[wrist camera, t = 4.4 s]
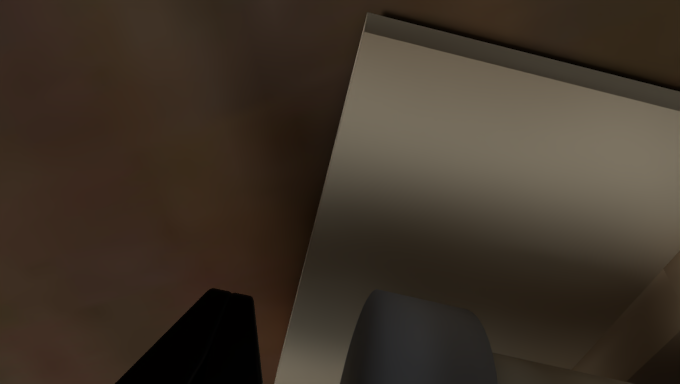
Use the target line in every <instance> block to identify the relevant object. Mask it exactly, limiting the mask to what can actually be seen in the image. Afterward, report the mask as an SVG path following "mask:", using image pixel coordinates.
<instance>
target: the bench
mask: <svg viewBox="0 0 680 384" xmlns="http://www.w3.org/2000/svg"><path fill="white" fill-rule="evenodd" d="M376 289H378V290H383V291H387V292H392V293H396V294H401V295H405V296H410V297H414V298H419V299H423V300H428V301H432V302H436V303H441V304H445V305H450V306H454V307H459V308H463V309H468V310H469V311H471V312H473V313H474V314H475V315H476V316H477V318H478V319H479V320H480V322H481V324H482V325H483V327H484V329H485V332H486V334H487V337H488V339H489V342H490V346H491V350H492V353H497V354H501V355H506V356H510V357H515V358H520V359H524V360H529V361H533V362H538V363H542V364H547V365H551V366H556V367H560V368H565V369H569V370H574V371H579V372H583V373H588V374H592V375H597V376H601V377H606V378H610V379H615V380H619V381H624V382H628V383H633V384H680V92H679V91H675V90H671V89H667V88H663V87H659V86H655V85H651V84H647V83H644V82H640V81H636V80H632V79H628V78H624V77H620V76H616V75H612V74H608V73H604V72H600V71H596V70H592V69H589V68H585V67H581V66H577V65H573V64H569V63H565V62H561V61H557V60H553V59H549V58H545V57H541V56H537V55H533V54H530V53H526V52H522V51H518V50H514V49H510V48H506V47H502V46H498V45H494V44H490V43H486V42H482V41H478V40H474V39H471V38H467V37H463V36H459V35H455V34H451V33H447V32H443V31H439V30H435V29H431V28H427V27H423V26H419V25H416V24H412V23H408V22H404V21H400V20H396V19H392V18H388V17H384V16H380V15H376V14H372V13H368V12H367V16H366V20H365V24H364V28H363V32H362V36H361V40H360V44H359V48H358V52H357V56H356V60H355V64H354V68H353V72H352V76H351V80H350V83H349V87H348V91H347V95H346V99H345V103H344V107H343V111H342V115H341V119H340V123H339V127H338V131H337V135H336V139H335V143H334V147H333V151H332V155H331V159H330V163H329V167H328V171H327V175H326V179H325V182H324V186H323V190H322V194H321V198H320V202H319V206H318V210H317V214H316V218H315V222H314V226H313V230H312V234H311V238H310V242H309V246H308V250H307V254H306V258H305V262H304V266H303V270H302V274H301V278H300V281H299V285H298V289H297V293H296V297H295V301H294V305H293V309H292V313H291V317H290V321H289V325H288V329H287V333H286V337H285V341H284V345H283V349H282V353H281V357H280V361H279V365H278V369H277V374H276V378H275V383H274V384H340V381H341V377H342V373H343V369H344V364H345V360H346V357H347V353H348V349H349V346H350V342H351V339H352V336H353V333H354V330H355V327H356V324H357V321H358V318H359V315H360V313H361V311H362V308H363V306H364V304H365V302H366V300H367V298H368V297H369V295H370V294H371V293H372V292H373V291H374V290H376Z"/></svg>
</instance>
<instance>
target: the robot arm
mask: <svg viewBox="0 0 680 384" xmlns="http://www.w3.org/2000/svg"><path fill="white" fill-rule="evenodd" d="M115 384H263V381H262V372H261V363H260V354H259V344H258V335H257V326H256V317H255V308H254V300H253V298H252V297H251V296H248V295H243V294H239V293H231V292H229V291H225V290H220V289H215V288H212V289H210V290H208V291H207V292H206V293H205V294H204V295H203V296H202V297H201V298H200V299H199V300H198V301H197V302H196V303H195V304H194V305H193V306H192V307H191V308H190V309H189V310H188V311H187V312H186V313H185V314H184V315H183V316H182V317H181V318H180V319H179V320H178V321H177V322H176V323H175V324H174V325H173V326H172V327H171V328H170V329H169V330H168V331H167V332H166V333H165V334H164V335H163V336H162V337H161V338H160V339H159V340H158V341H157V342H156V343H155V344H154V345H153V346H152V347H151V348H150V349H149V350H148V351H147V352H146V353H145V354H144V355H143V356H142V357H141V358H140V359H139V360H138V361H137V362H136V363H135V364H134V365H133V366H132V367H131V368H130V369H129V370H128V371H127V372H126V373H125V374H124V375H123V376H122V377H121V378H120V379H119V380H118V381H117V382H116V383H115Z"/></svg>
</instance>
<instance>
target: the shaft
mask: <svg viewBox="0 0 680 384" xmlns="http://www.w3.org/2000/svg"><path fill="white" fill-rule="evenodd" d="M340 384H633V383H628V382H624V381H619V380H615V379H610V378H606V377H601V376H597V375H592V374H588V373H583V372H579V371H574V370H569V369H565V368H560V367H556V366H551V365H547V364H542V363H538V362H533V361H529V360H524V359H520V358H515V357H510V356H506V355H501V354H497V353H492V350H491V346H490V342H489V339H488V337H487V334H486V332H485V329H484V327H483V325H482V324H481V322H480V320H479V319H478V318H477V316H476V315H475V314H474V313H473V312H471V311H469V310H468V309H463V308H459V307H454V306H450V305H445V304H441V303H436V302H432V301H428V300H423V299H419V298H414V297H410V296H405V295H401V294H396V293H392V292H387V291H383V290H378V289H376V290H374V291H373V292H372V293H371V294H370V295H369V297H368V298H367V300H366V302H365V304H364V306H363V308H362V311H361V313H360V315H359V318H358V321H357V324H356V327H355V330H354V333H353V336H352V339H351V342H350V346H349V349H348V353H347V357H346V360H345V364H344V369H343V373H342V377H341V381H340Z"/></svg>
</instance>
